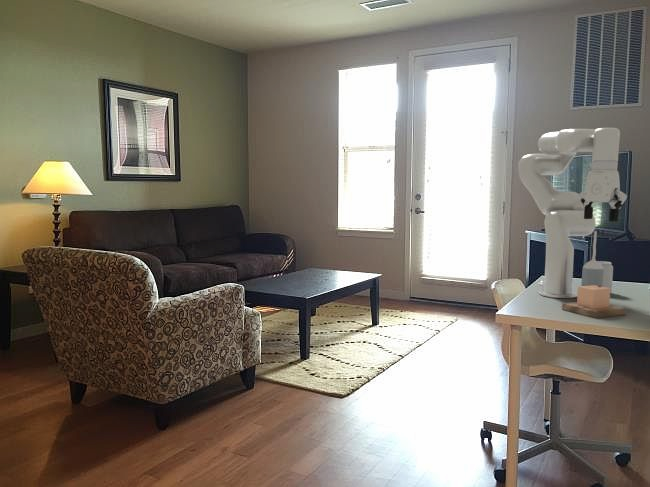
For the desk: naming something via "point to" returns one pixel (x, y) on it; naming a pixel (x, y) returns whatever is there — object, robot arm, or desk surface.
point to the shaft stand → (593, 310)
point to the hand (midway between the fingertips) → (600, 220)
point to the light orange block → (593, 296)
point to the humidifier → (592, 269)
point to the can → (607, 274)
